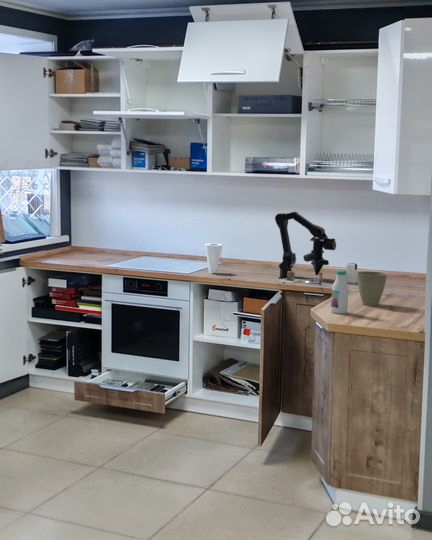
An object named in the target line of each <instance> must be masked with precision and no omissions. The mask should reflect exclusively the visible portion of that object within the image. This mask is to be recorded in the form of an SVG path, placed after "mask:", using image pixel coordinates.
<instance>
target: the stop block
mask: <svg viewBox="0 0 432 540" xmlns="http://www.w3.org/2000/svg"><path fill="white" fill-rule="evenodd" d="M295 277H296V272H295V271H288V272H287V281H295V279H296V278H295Z"/></svg>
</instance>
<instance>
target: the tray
mask: <svg viewBox="0 0 432 540" xmlns="http://www.w3.org/2000/svg"><path fill="white" fill-rule="evenodd" d="M302 281H303V280H302V279H297V278H295V281H287V278H286V279H281V278H279V283H280V282H285V283H284V284H286V283H289V284H290V283H291V284H293V283H294V284H295V283H296V282H302Z"/></svg>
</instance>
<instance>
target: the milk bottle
mask: <svg viewBox="0 0 432 540" xmlns="http://www.w3.org/2000/svg"><path fill="white" fill-rule="evenodd" d="M346 271H347V270H341V269H340V270H339V269H337V270H336V272H335V275H336V278H335V280H334V282H333V283H332V288H331V301H330V312H331V313H333V314H338V315H339V314H342V315H343V314H345V315H346V314H347V313H348V309H349V308H348V307H349V306H348V305H349V286H348V283H347V282H346V278H345V276H346Z"/></svg>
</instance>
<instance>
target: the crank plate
mask: <svg viewBox="0 0 432 540" xmlns="http://www.w3.org/2000/svg"><path fill="white" fill-rule="evenodd" d="M295 283H297V284H303V285H304V284H305V285H308V286H309V285H310V286H314V287H315V286H316V287H323V286H327V285H333V283H331V282H324V281H322V280H321V279H319V283H318V284H308V283H304V280H302V282H295Z"/></svg>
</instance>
